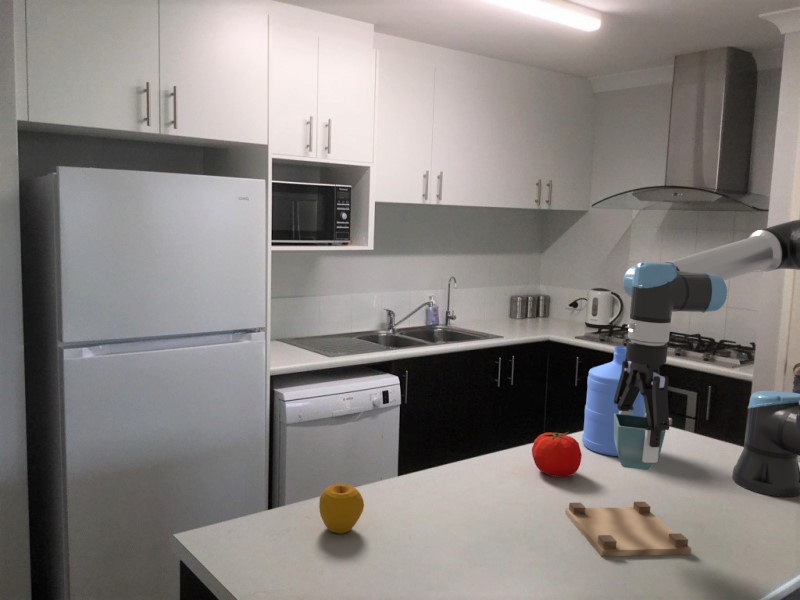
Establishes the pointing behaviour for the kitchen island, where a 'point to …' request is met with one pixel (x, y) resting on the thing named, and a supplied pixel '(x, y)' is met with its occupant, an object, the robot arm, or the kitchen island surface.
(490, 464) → the kitchen island surface
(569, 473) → the tomato
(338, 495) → the apple
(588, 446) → the water jug
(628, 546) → the trivet
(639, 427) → the flower pot
